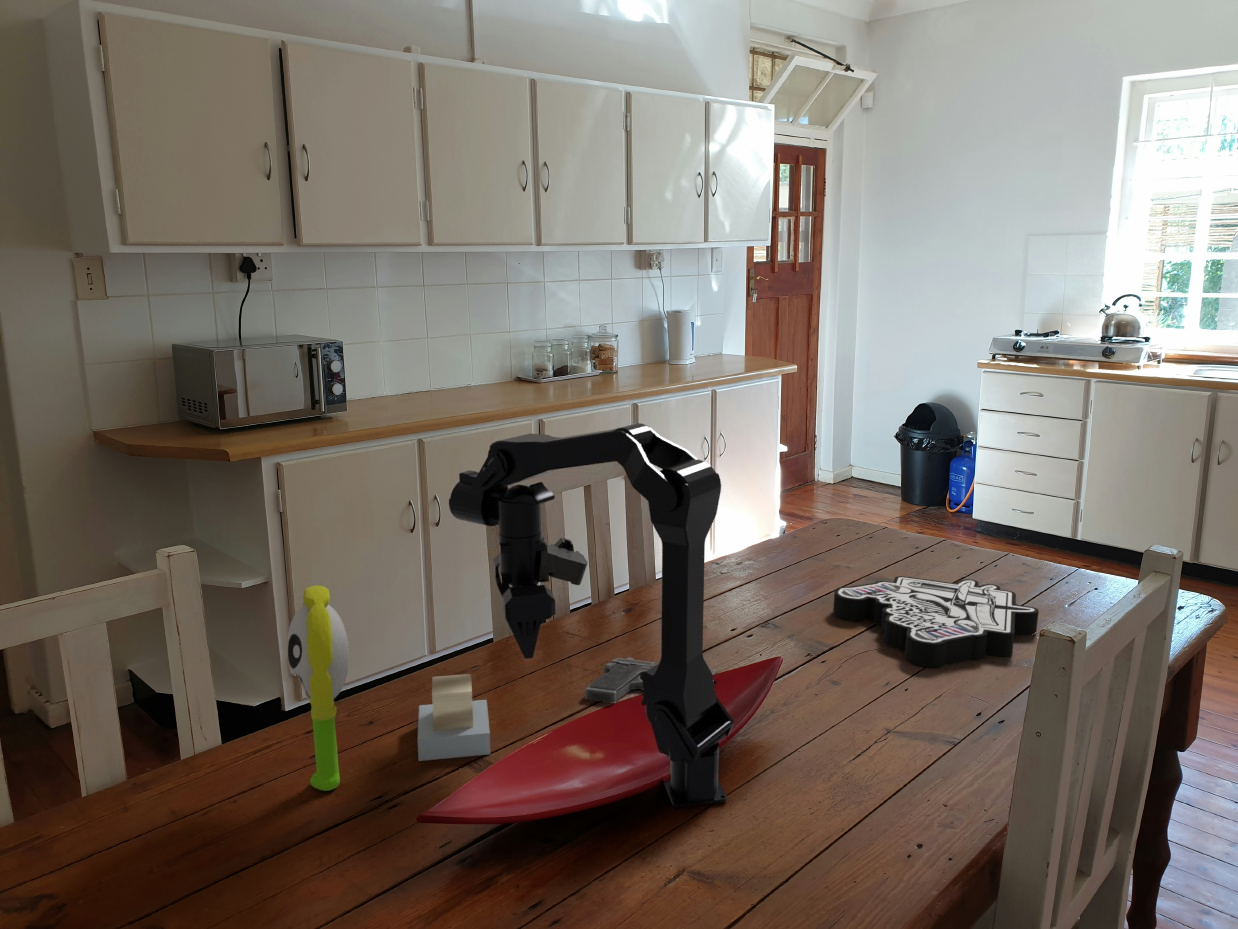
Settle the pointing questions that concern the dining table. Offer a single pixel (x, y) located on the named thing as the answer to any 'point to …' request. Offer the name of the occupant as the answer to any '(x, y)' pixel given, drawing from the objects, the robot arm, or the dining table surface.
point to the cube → (452, 702)
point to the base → (453, 735)
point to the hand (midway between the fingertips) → (524, 643)
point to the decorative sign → (939, 618)
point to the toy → (320, 674)
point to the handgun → (619, 679)
